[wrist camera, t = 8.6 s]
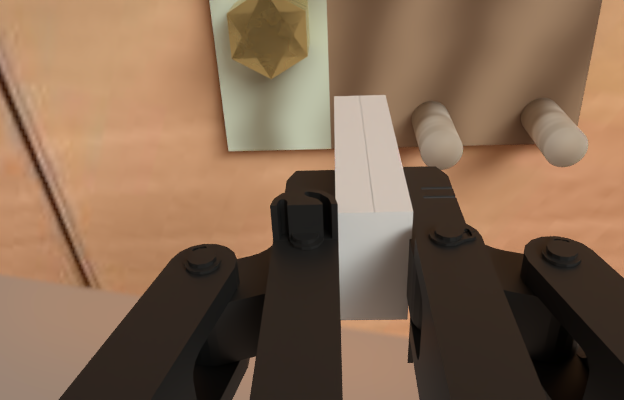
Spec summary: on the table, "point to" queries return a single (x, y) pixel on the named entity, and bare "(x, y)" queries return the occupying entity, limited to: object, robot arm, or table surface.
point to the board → (423, 76)
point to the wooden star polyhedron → (269, 34)
